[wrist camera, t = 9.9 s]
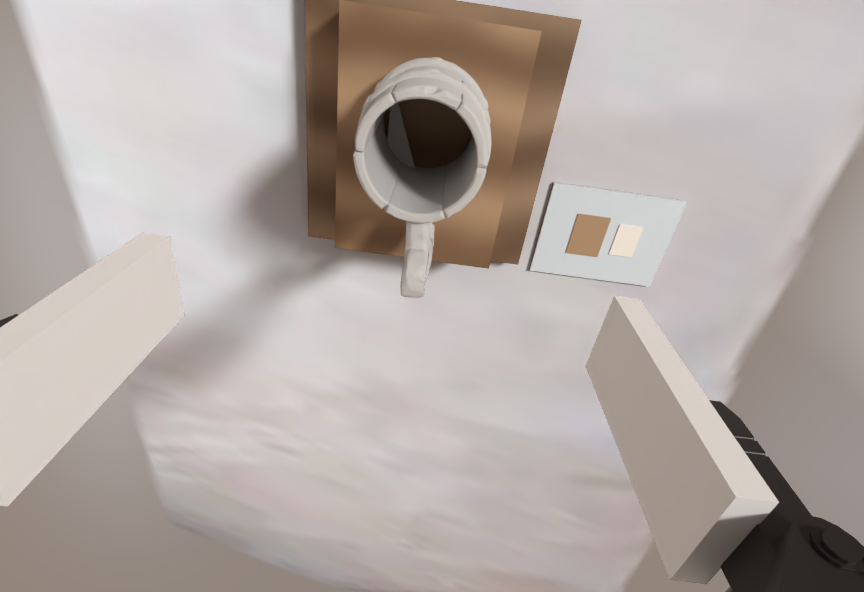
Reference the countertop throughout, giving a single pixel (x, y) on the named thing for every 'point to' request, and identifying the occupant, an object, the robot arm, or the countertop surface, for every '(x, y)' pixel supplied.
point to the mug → (393, 165)
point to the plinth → (433, 116)
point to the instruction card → (605, 234)
